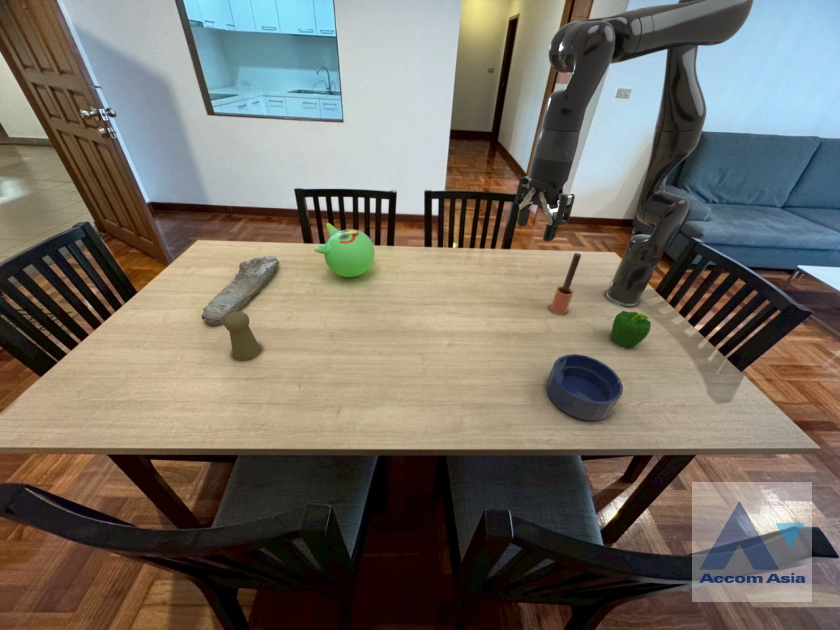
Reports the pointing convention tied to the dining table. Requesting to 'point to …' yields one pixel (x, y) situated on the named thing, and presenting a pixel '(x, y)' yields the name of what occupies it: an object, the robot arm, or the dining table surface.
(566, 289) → the stirring stick
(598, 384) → the blue bowl
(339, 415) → the dining table surface
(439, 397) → the dining table surface
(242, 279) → the long grey stone
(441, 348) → the dining table surface
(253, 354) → the olive brown pawn
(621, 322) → the bell pepper
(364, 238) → the toy bird
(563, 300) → the utensil cup
